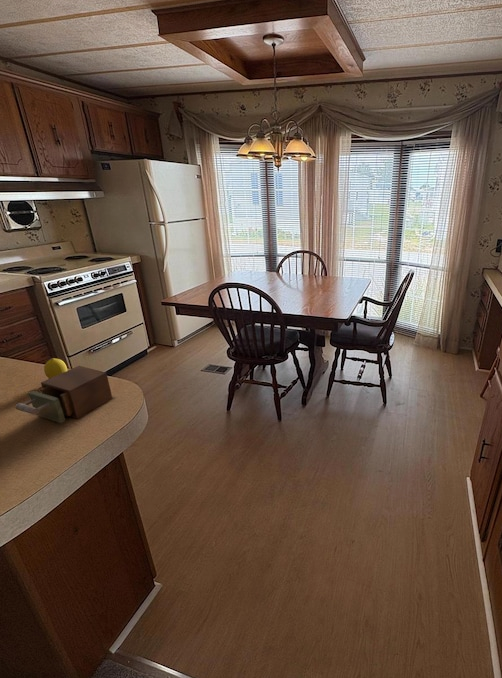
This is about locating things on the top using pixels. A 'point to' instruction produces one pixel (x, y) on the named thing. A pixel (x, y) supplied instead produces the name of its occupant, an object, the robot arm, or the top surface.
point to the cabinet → (82, 388)
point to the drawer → (48, 404)
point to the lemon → (54, 367)
